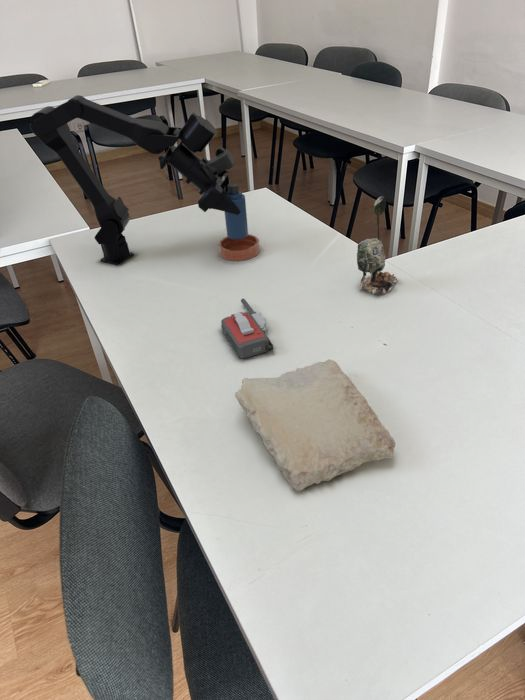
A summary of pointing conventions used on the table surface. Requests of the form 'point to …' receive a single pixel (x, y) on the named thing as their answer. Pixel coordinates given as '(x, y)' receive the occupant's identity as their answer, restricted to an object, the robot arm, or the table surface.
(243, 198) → the blue bottle
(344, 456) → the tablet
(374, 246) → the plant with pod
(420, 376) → the table surface
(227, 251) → the dish
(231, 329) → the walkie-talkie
